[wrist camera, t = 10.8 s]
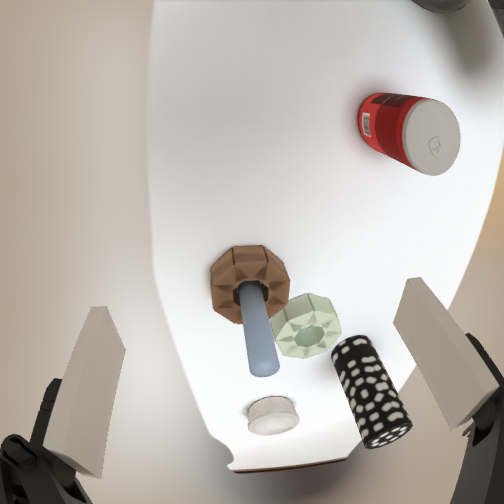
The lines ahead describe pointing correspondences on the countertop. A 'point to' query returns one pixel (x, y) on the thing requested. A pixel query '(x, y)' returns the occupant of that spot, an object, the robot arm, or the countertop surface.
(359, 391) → the spotted tube
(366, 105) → the canned food
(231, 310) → the walnut bead
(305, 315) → the sage bead
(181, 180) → the countertop surface
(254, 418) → the ramekin
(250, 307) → the dowel
